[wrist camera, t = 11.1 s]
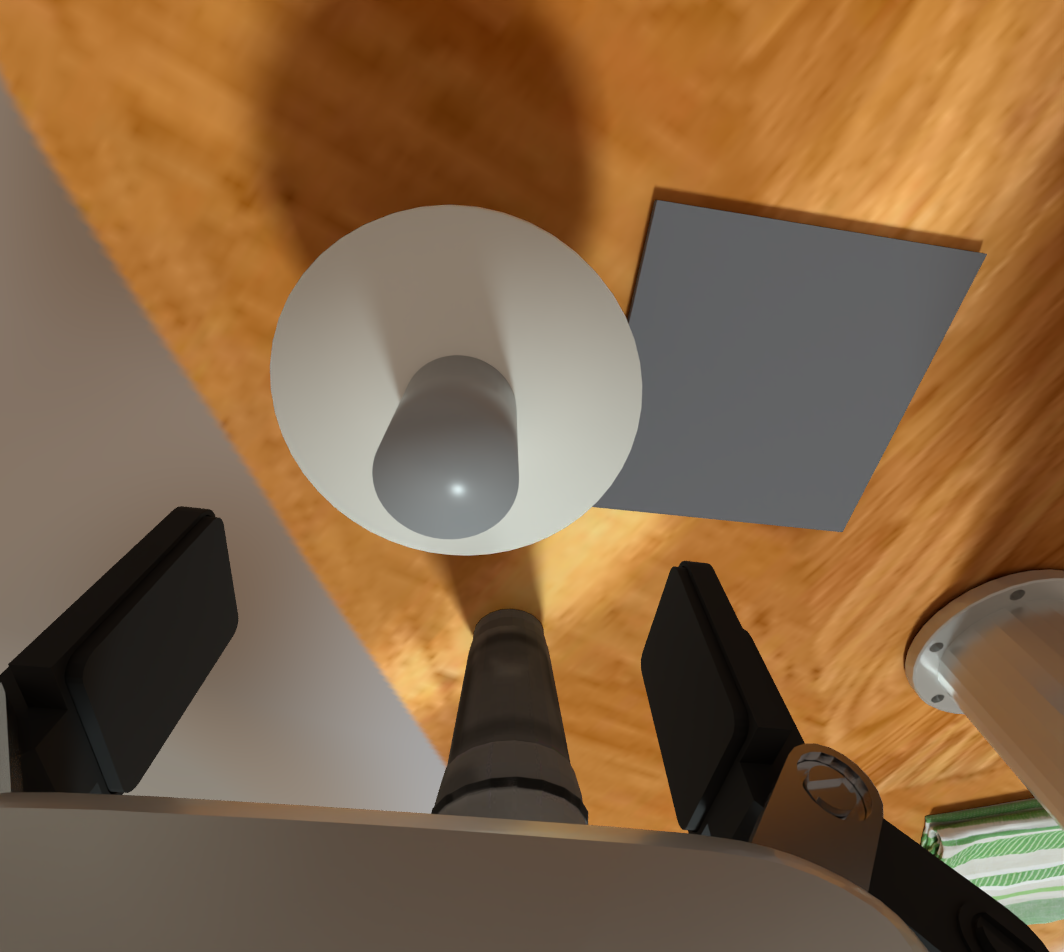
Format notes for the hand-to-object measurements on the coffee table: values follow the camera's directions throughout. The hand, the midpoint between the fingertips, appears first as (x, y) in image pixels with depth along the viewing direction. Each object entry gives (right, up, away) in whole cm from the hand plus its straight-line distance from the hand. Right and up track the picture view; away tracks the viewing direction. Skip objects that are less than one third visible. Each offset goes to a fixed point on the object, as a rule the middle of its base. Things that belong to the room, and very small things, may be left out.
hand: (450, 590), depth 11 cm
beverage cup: (0, -8, +23) cm, 24 cm away
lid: (-1, +5, +9) cm, 10 cm away
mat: (+13, +7, +15) cm, 21 cm away
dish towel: (+47, -35, +41) cm, 72 cm away
